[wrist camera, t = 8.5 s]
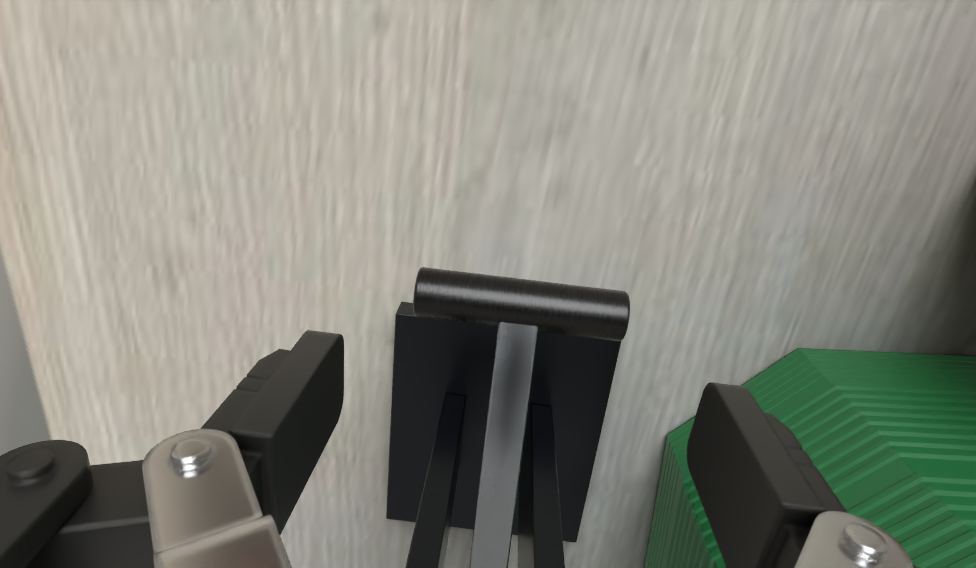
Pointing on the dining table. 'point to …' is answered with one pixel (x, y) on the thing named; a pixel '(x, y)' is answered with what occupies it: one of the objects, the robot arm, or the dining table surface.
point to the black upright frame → (462, 425)
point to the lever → (512, 371)
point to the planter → (855, 452)
